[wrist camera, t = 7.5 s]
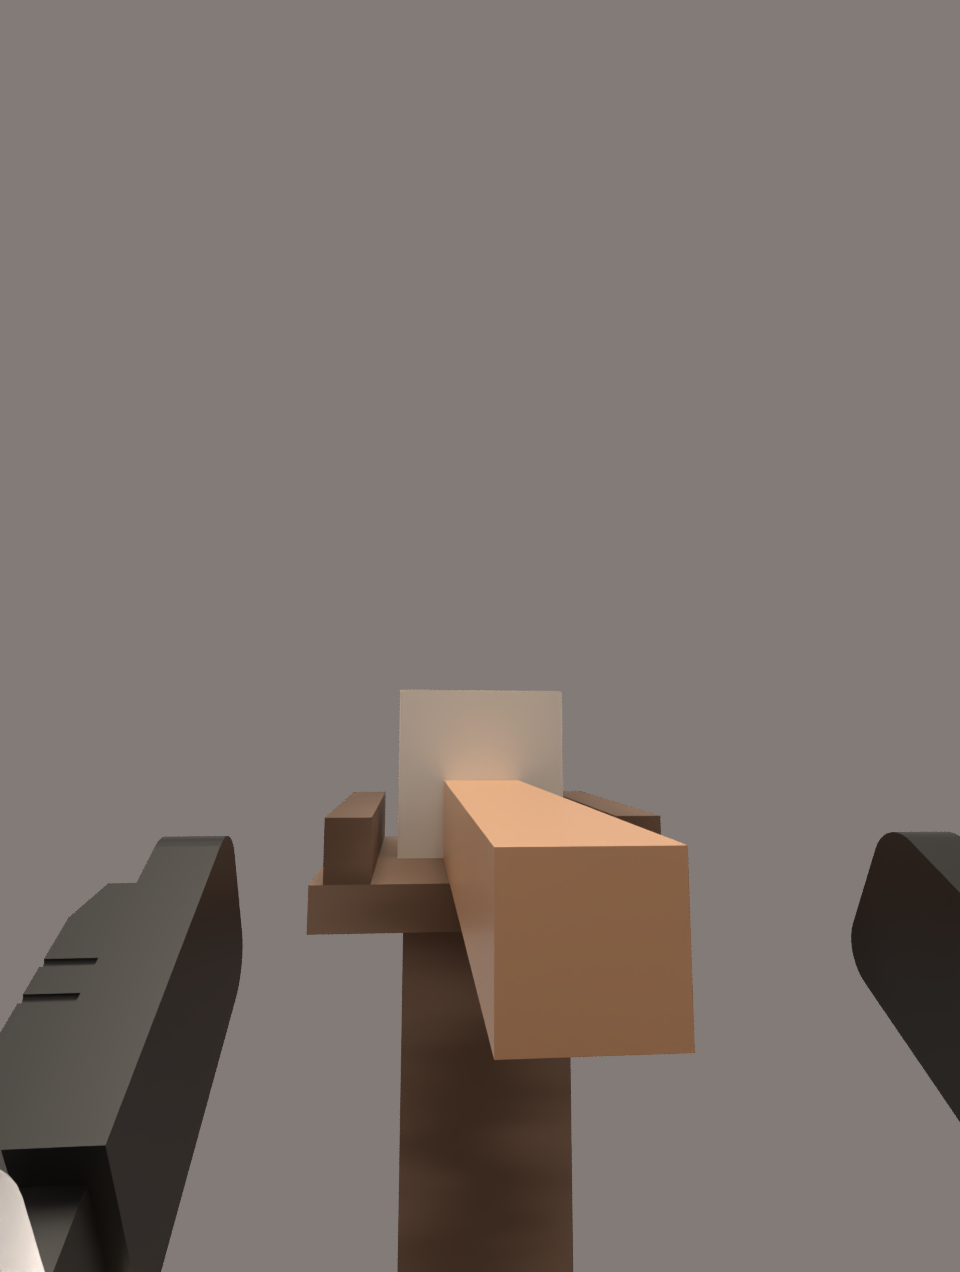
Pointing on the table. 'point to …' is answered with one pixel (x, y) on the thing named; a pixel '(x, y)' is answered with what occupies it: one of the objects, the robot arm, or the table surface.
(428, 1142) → the tall stand
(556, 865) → the plug rod
